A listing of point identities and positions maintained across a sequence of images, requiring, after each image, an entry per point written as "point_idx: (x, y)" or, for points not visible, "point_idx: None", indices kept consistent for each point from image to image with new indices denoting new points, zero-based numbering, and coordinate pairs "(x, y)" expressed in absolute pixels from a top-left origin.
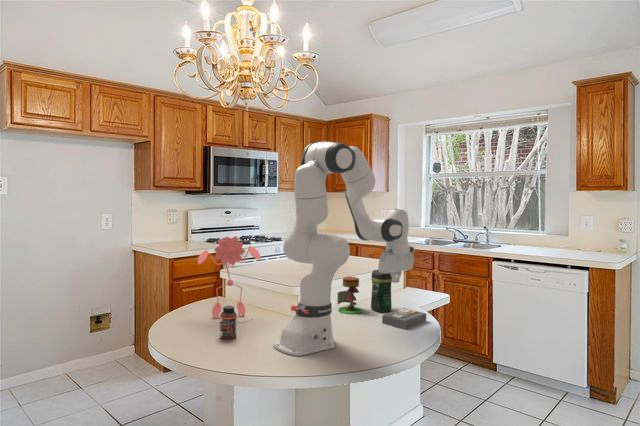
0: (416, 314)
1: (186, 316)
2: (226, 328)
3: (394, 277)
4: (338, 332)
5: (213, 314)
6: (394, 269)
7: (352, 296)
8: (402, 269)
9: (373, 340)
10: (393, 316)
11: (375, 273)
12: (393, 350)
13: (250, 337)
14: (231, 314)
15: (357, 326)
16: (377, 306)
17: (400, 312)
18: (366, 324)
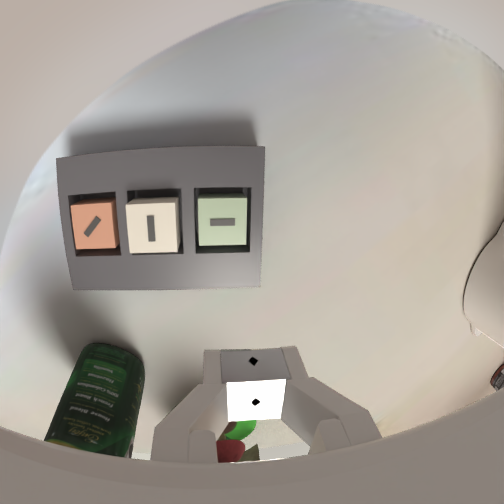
0: (107, 178)
1: None
2: None
3: (327, 393)
4: (429, 295)
5: None
6: (467, 445)
7: (232, 456)
8: (174, 485)
9: (435, 172)
10: (245, 233)
11: None
12: (455, 84)
13: (495, 359)
14: None
15: (353, 303)
16: (142, 384)
17: (177, 237)
18: (312, 300)
